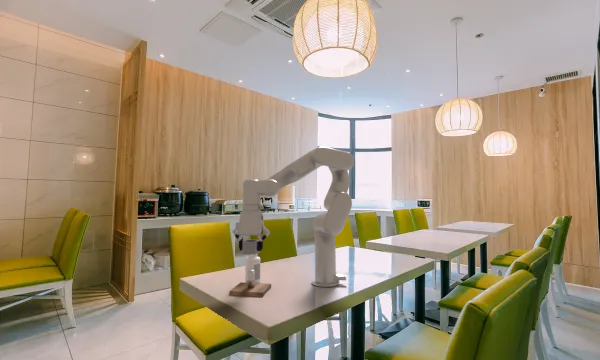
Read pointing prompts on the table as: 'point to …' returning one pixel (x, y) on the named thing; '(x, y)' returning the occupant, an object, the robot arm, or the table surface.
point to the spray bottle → (253, 267)
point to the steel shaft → (251, 278)
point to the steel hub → (250, 247)
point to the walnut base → (250, 289)
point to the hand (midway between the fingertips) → (250, 250)
